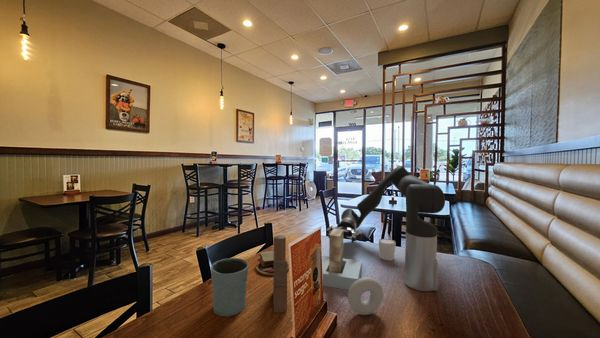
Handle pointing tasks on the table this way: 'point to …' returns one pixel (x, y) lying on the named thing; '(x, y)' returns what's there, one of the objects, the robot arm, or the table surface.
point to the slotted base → (343, 280)
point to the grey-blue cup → (229, 286)
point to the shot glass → (387, 249)
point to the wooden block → (280, 274)
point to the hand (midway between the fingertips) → (341, 238)
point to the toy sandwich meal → (267, 263)
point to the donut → (372, 301)
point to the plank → (336, 251)
